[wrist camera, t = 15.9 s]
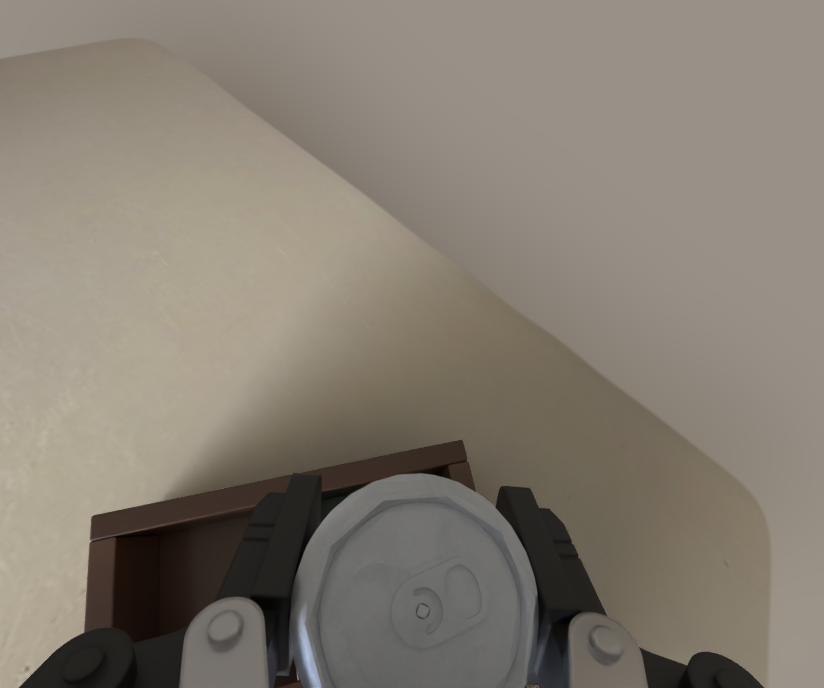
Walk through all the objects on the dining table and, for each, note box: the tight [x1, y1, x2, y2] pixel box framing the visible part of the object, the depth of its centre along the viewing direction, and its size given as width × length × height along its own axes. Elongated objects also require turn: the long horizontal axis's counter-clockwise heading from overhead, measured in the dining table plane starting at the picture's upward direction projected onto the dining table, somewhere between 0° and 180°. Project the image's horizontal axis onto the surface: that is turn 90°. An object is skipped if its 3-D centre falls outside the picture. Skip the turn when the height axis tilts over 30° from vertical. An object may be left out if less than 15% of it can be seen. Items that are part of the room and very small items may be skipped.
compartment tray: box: [84, 440, 527, 688], centre depth 18 cm, size 16×16×4 cm
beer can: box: [289, 473, 539, 688], centre depth 13 cm, size 5×5×12 cm
